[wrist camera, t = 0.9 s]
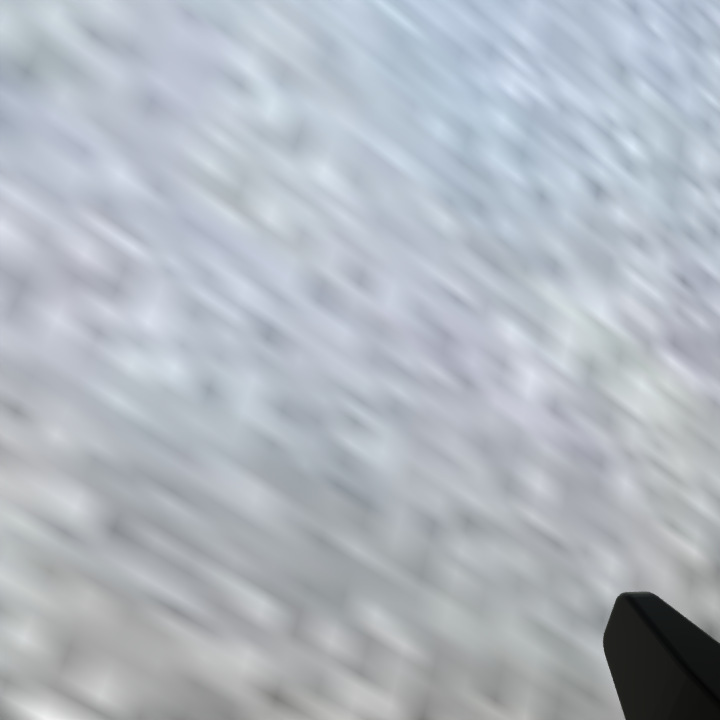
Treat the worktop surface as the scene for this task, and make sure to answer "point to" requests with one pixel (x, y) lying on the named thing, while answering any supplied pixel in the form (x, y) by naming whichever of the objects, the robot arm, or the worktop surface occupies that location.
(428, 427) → the worktop surface
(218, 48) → the worktop surface
